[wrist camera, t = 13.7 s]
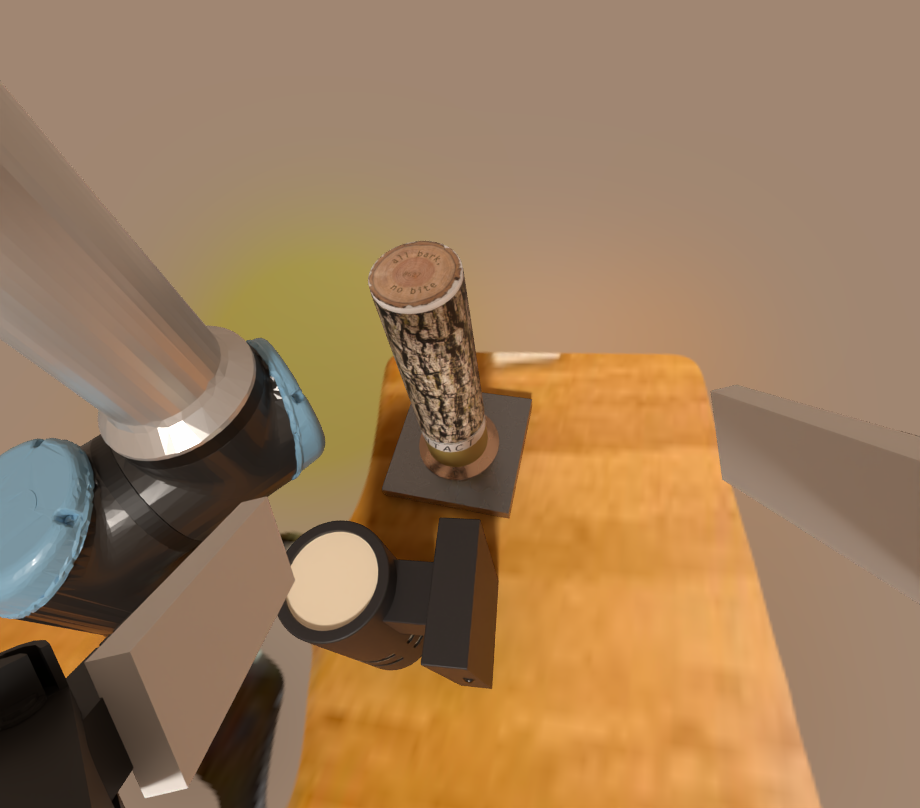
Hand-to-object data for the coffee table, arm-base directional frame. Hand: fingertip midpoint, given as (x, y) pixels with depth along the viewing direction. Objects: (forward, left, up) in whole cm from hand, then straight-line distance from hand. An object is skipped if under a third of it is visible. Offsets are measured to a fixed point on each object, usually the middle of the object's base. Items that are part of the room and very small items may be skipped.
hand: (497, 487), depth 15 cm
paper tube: (-11, +19, -36) cm, 42 cm away
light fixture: (-10, 0, -38) cm, 39 cm away
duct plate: (-11, +19, -38) cm, 44 cm away
